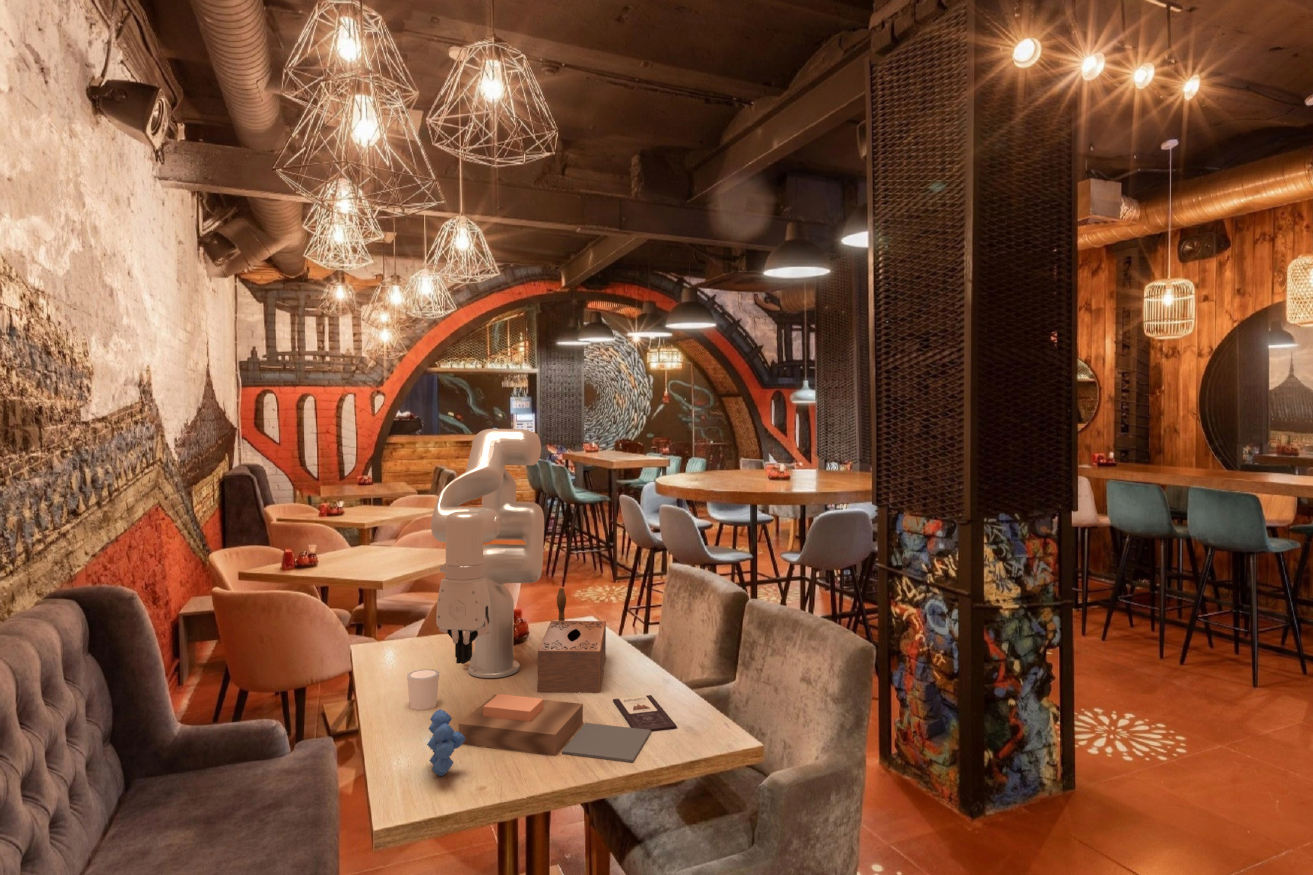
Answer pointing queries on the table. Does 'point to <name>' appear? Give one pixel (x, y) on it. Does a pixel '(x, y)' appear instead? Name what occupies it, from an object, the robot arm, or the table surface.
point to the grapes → (443, 742)
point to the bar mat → (607, 742)
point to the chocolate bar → (644, 713)
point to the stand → (525, 729)
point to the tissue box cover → (572, 657)
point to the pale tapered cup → (423, 688)
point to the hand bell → (561, 603)
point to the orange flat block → (513, 707)
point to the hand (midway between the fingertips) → (463, 661)
